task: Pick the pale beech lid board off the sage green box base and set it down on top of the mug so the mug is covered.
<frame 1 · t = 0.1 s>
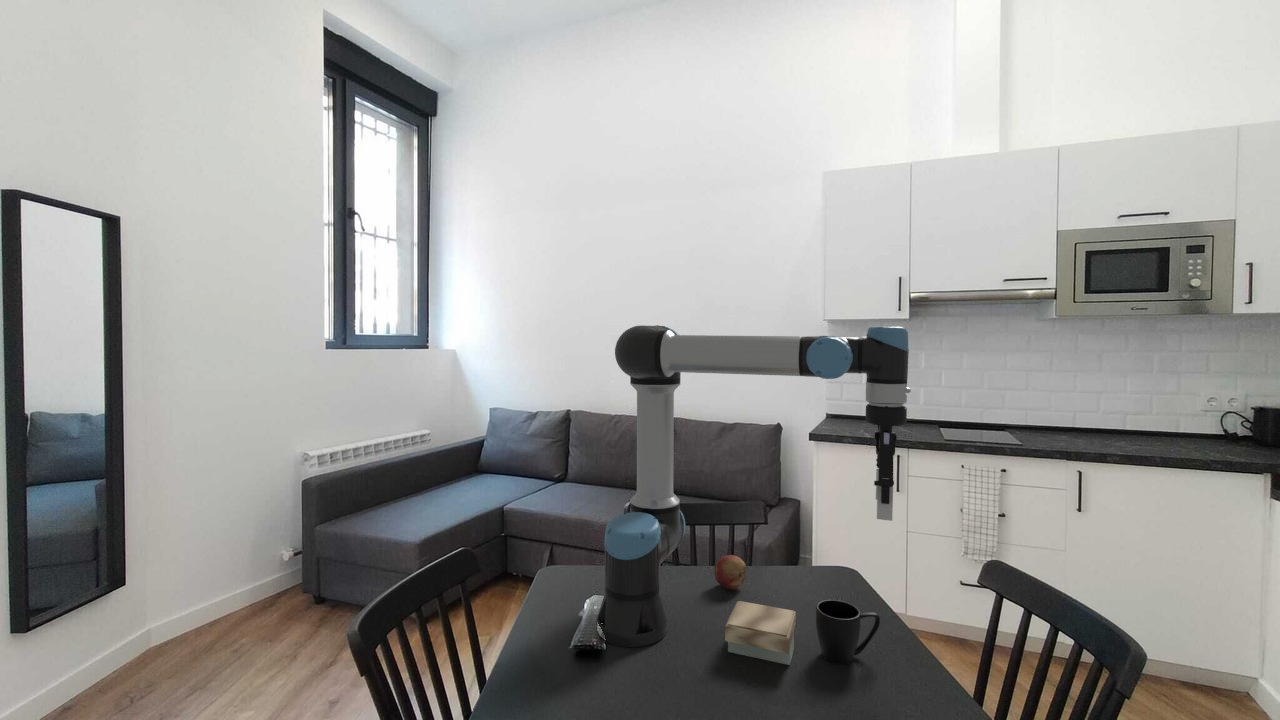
hand: (883, 509, 115), 28 cm above the table, fingers open, 13 cm apart
lid: (761, 633, 114), point 3 cm above the table, touching sage green box base
sage green box base: (761, 650, 114), on the table
fruit: (729, 588, 141), on the table
mug: (846, 658, 112), on the table
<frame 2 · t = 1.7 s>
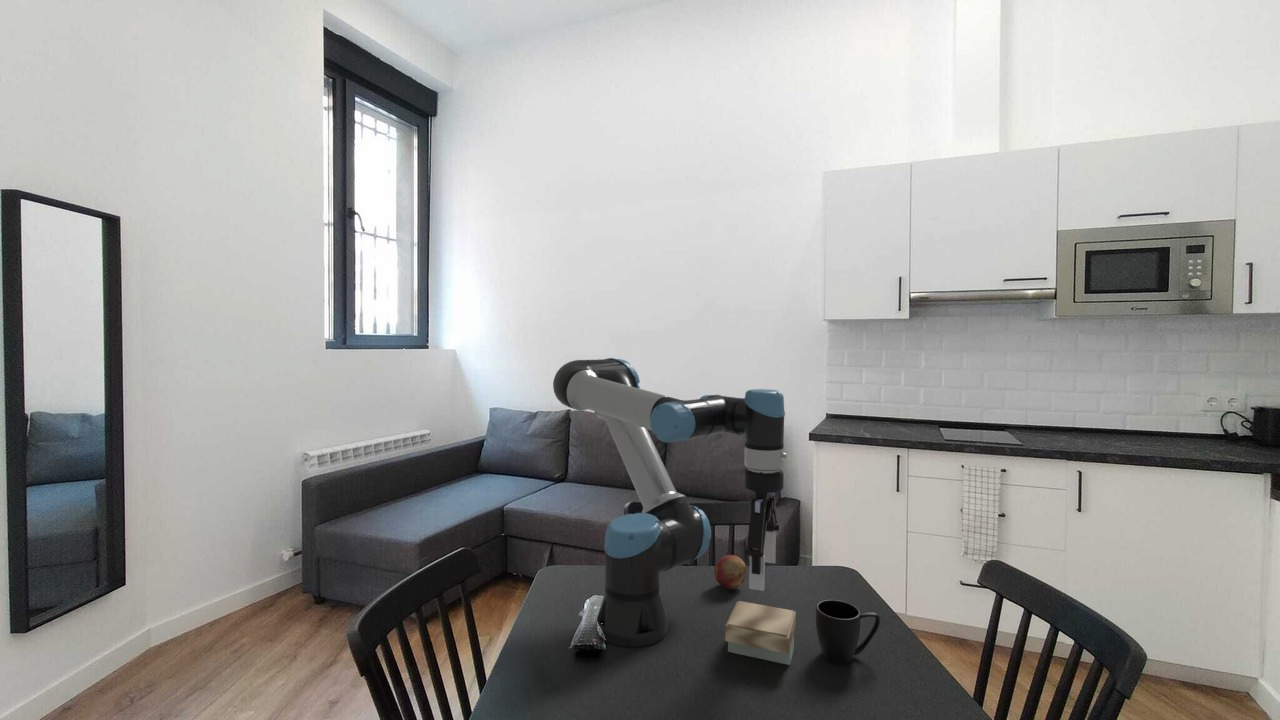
hand: (762, 575, 113), 15 cm above the table, fingers open, 13 cm apart
nothing on the table moved.
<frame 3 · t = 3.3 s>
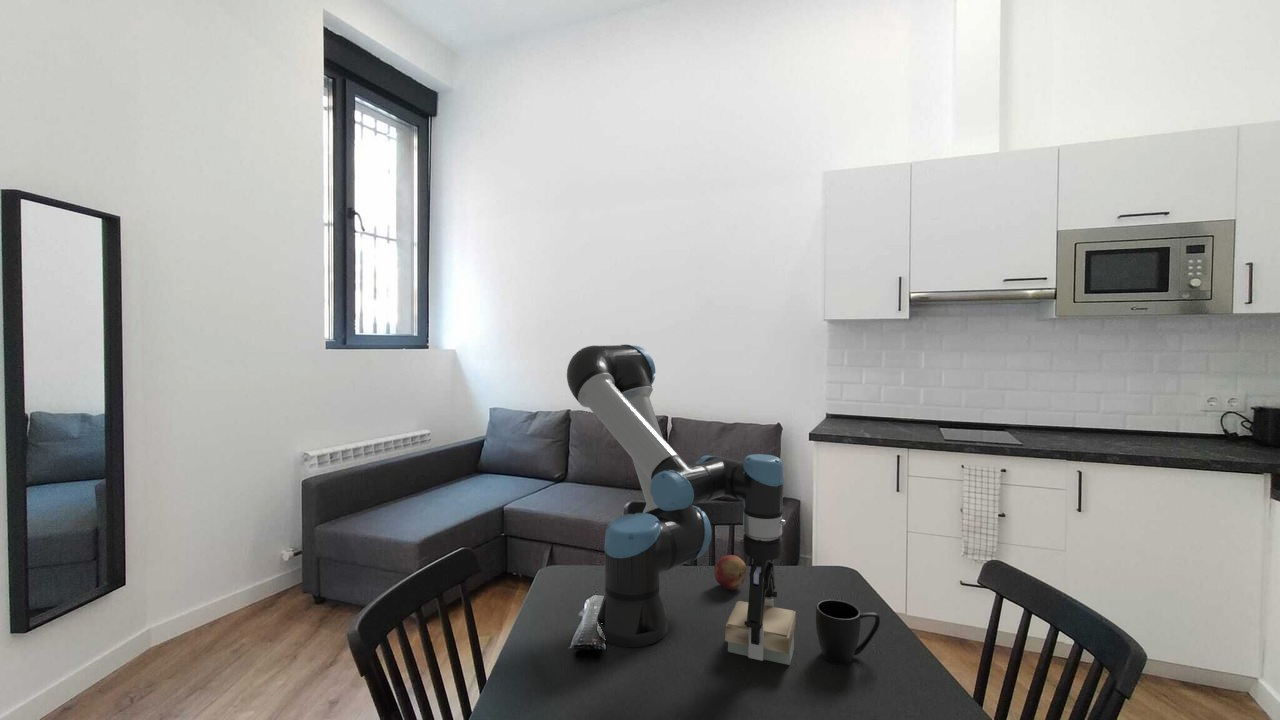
hand: (761, 642, 114), 2 cm above the table, fingers closed on lid, 11 cm apart
lid: (761, 633, 114), point 4 cm above the table, touching gripper, sage green box base
everything else where it was.
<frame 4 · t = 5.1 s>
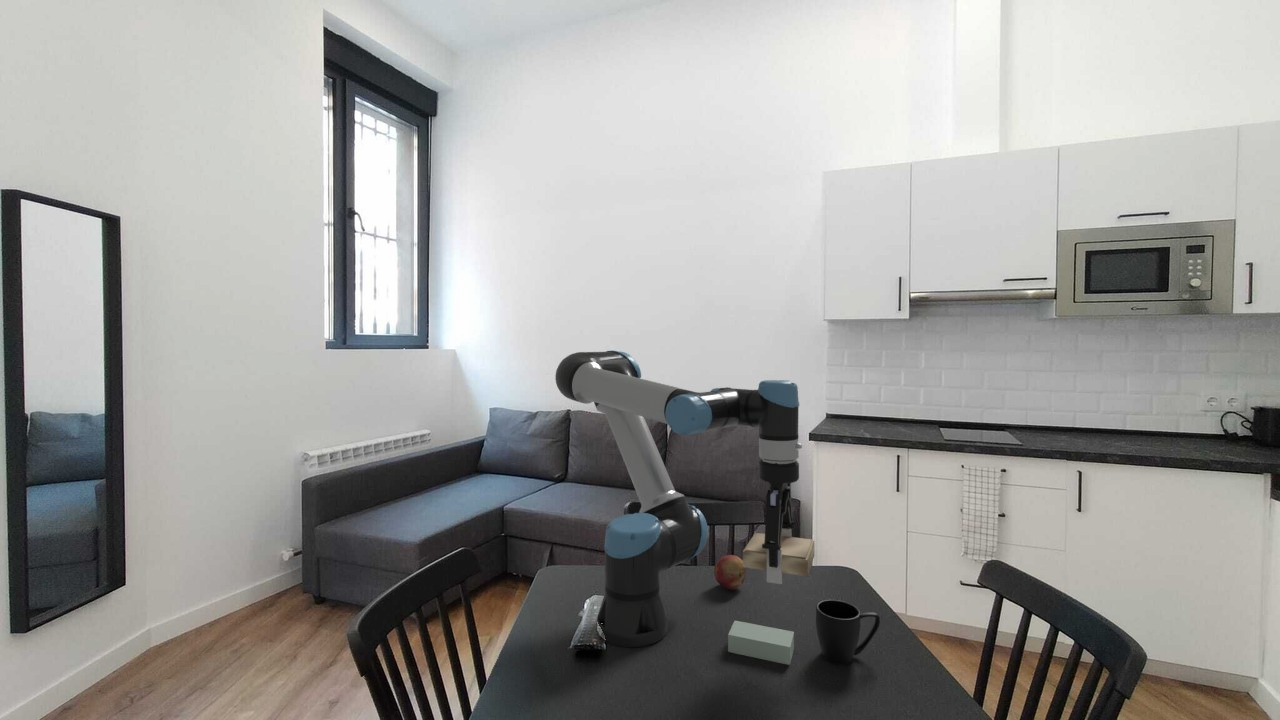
hand: (779, 570, 112), 17 cm above the table, fingers closed on lid, 11 cm apart
lid: (779, 561, 112), point 19 cm above the table, touching gripper
everything else where it was.
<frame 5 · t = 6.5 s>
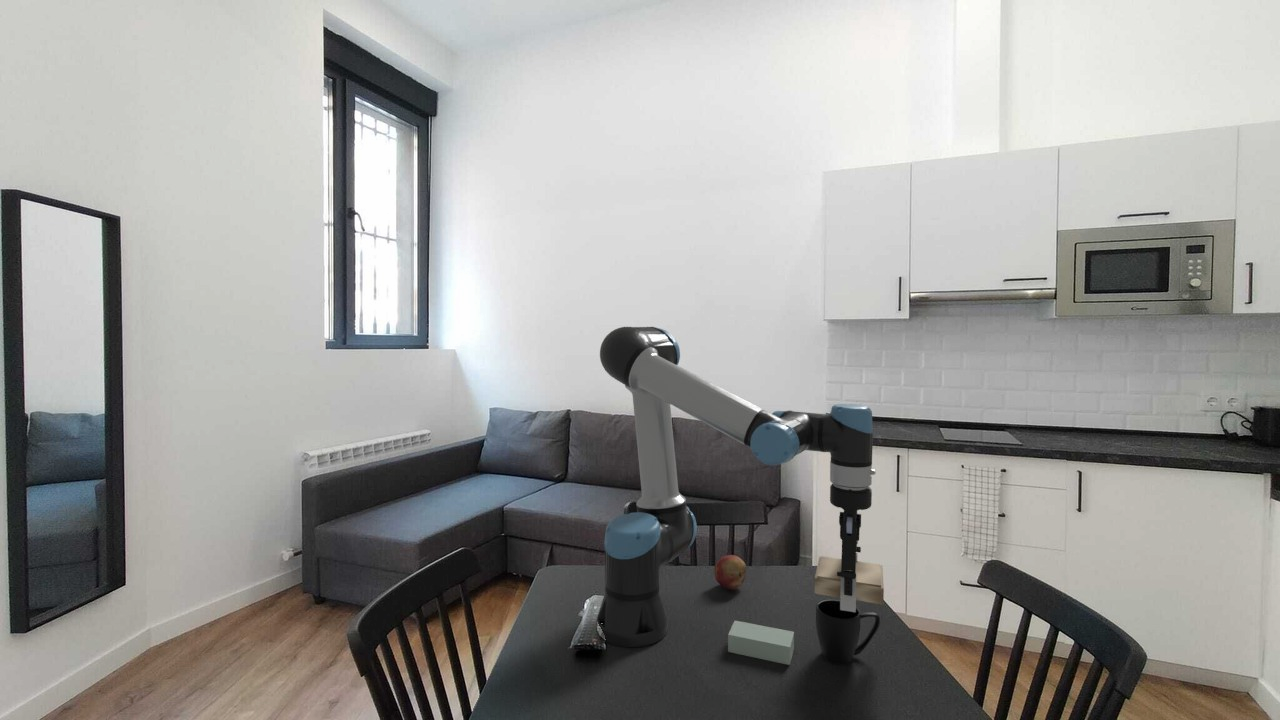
hand: (848, 596, 111), 12 cm above the table, fingers closed on lid, 11 cm apart
lid: (849, 586, 111), point 14 cm above the table, touching gripper
everything else where it was.
when the fingers open (10 cm above the table, at t = 7.3 s): lid drops 3 cm, resting on mug.
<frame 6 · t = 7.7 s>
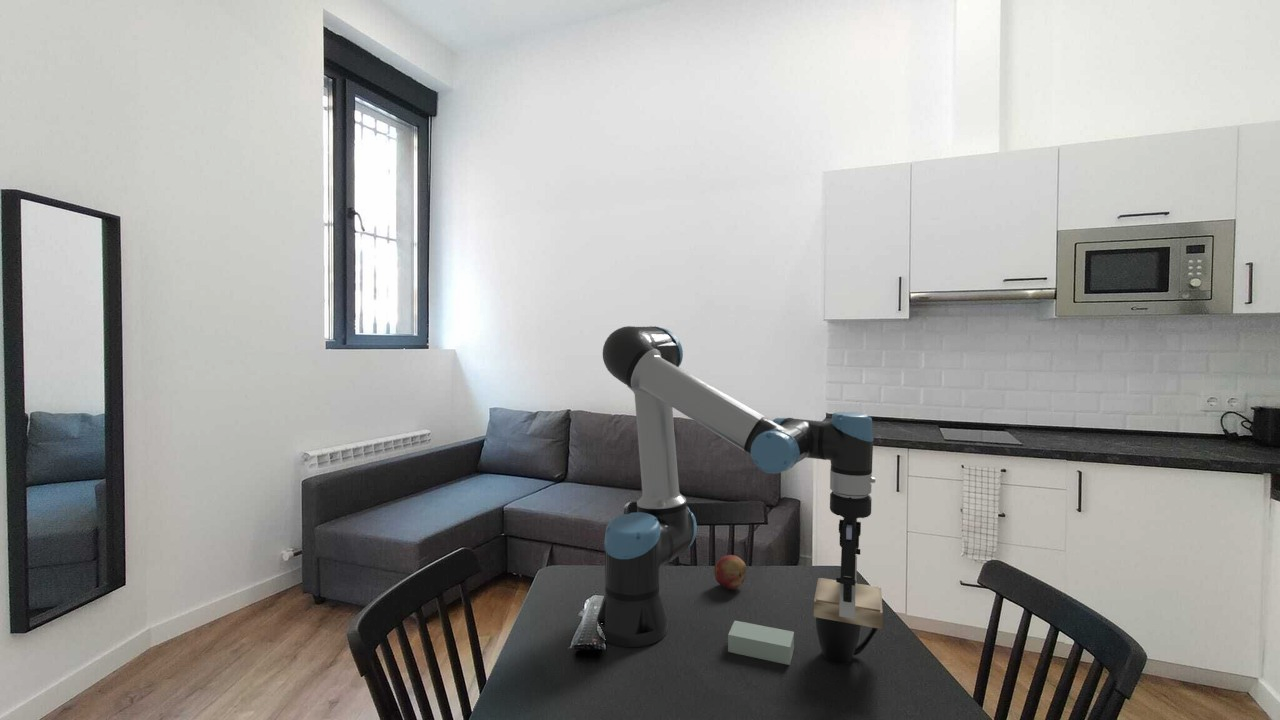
hand: (848, 600, 111), 11 cm above the table, fingers open, 13 cm apart
lid: (848, 609, 111), point 9 cm above the table, touching mug
mug: (846, 658, 112), on the table, touching lid
everything else where it was.
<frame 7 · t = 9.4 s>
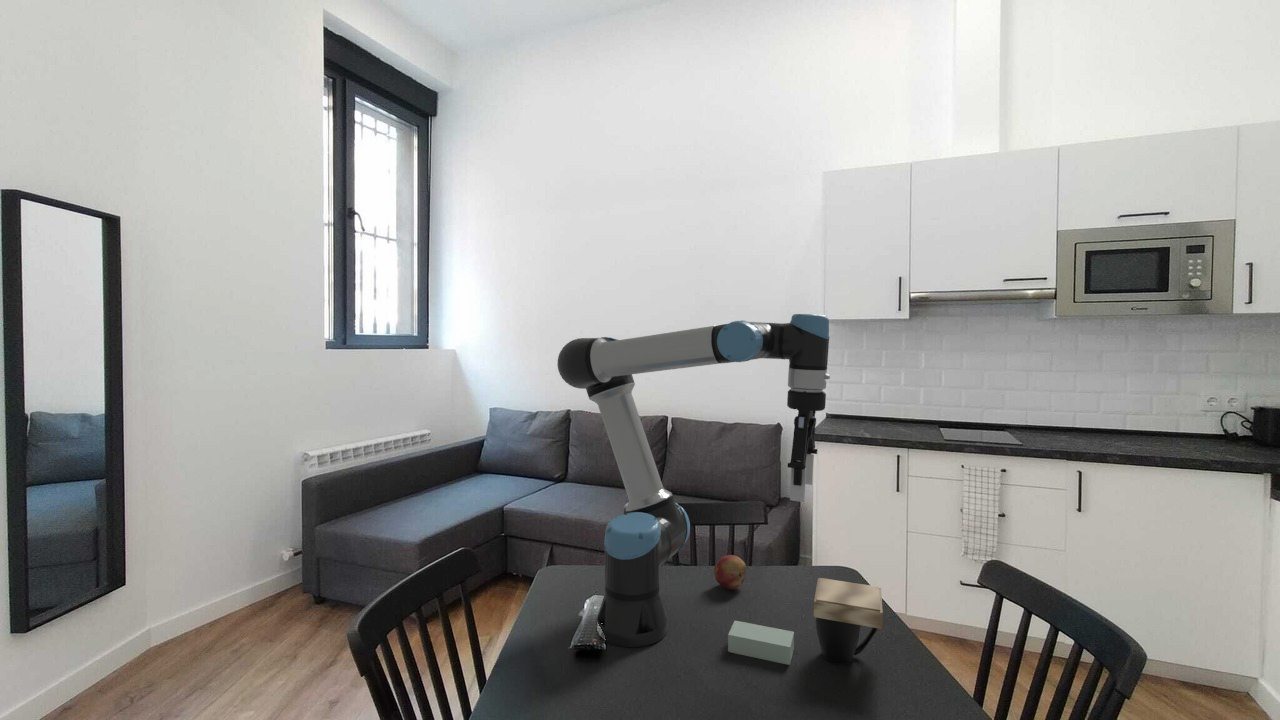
hand: (801, 491, 118), 30 cm above the table, fingers open, 13 cm apart
nothing on the table moved.
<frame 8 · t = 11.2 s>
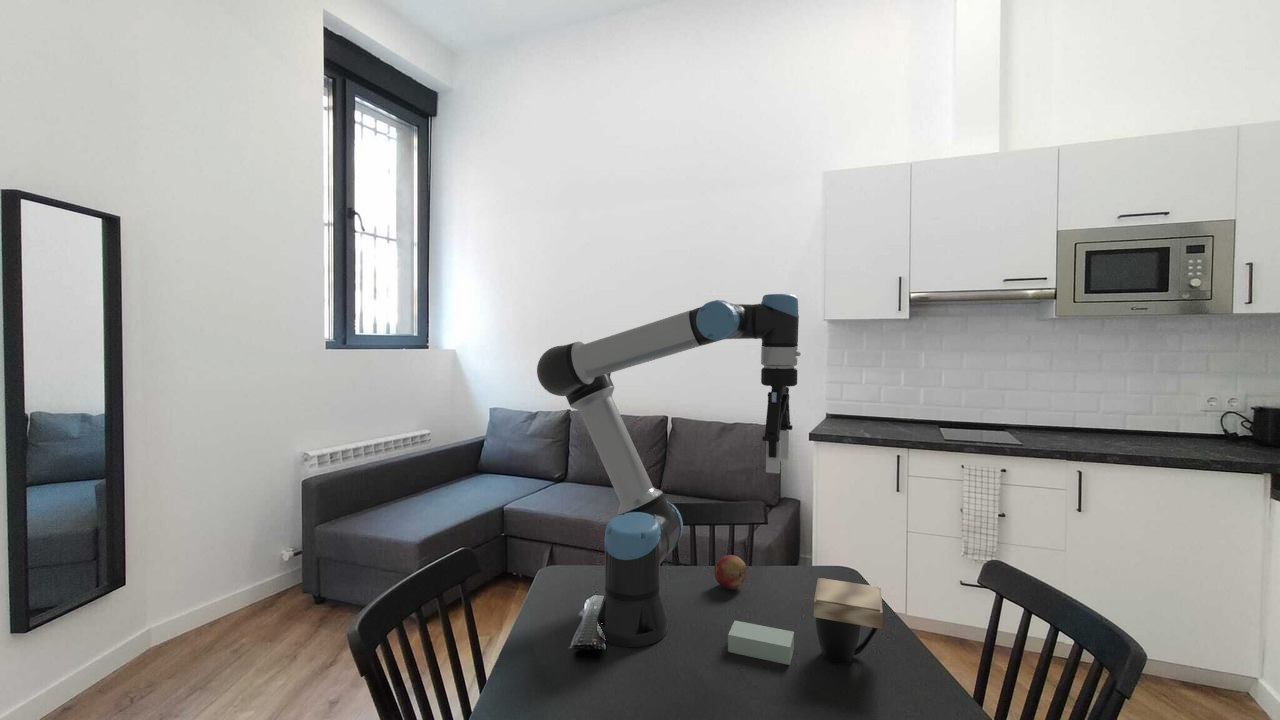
hand: (777, 465, 123), 35 cm above the table, fingers open, 13 cm apart
nothing on the table moved.
at the end: lid inside the target area on the mug (0.0 cm from its centre), point 9.7 cm above the mug's base; lid tilted 0°; the gripper is holding nothing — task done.
